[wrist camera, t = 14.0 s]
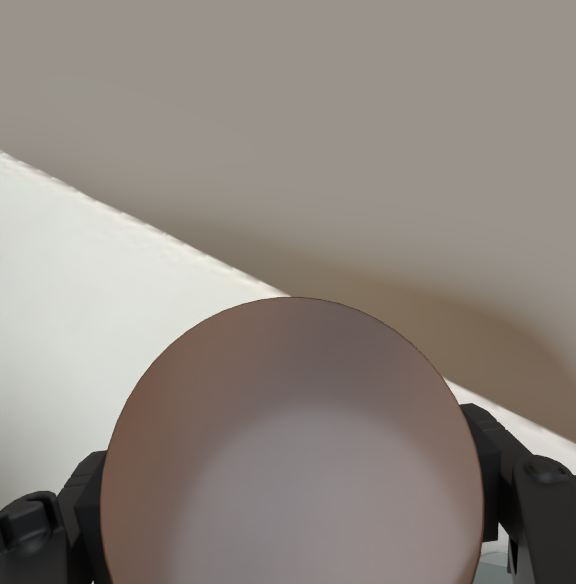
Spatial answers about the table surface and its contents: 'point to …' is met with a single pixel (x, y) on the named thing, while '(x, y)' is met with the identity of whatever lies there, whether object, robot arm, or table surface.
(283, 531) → the lid
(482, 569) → the canister
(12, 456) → the table surface
